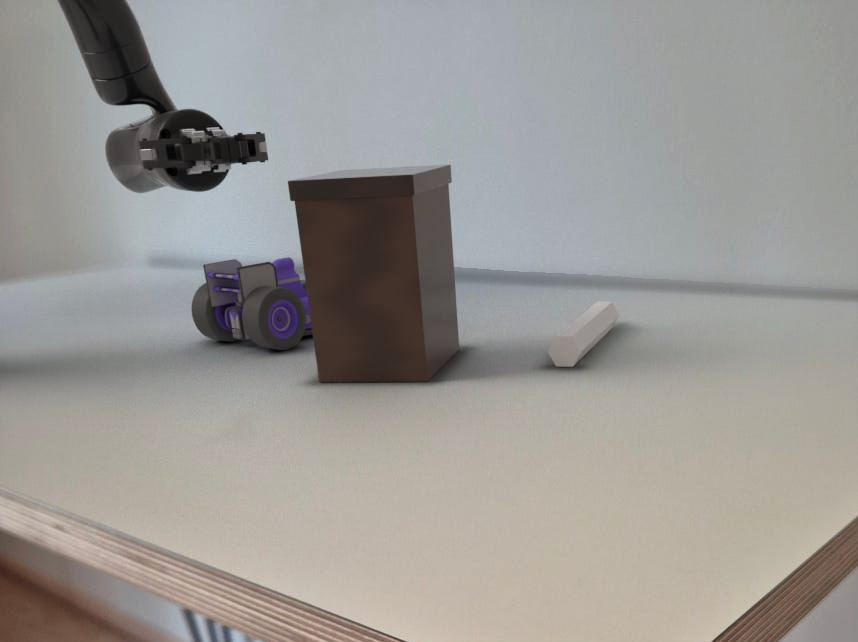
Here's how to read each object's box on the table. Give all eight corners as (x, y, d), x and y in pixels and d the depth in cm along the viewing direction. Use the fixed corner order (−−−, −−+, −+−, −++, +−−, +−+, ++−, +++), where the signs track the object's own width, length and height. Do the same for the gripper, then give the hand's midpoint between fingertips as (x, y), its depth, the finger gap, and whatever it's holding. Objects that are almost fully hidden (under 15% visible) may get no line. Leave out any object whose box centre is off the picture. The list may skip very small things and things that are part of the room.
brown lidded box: (311, 383, 68) (282, 181, 62) (357, 350, 77) (336, 170, 71) (429, 382, 67) (412, 174, 60) (462, 348, 75) (450, 164, 69)
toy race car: (398, 321, 87) (390, 244, 84) (264, 356, 77) (250, 270, 74) (328, 313, 93) (319, 240, 89) (196, 344, 83) (181, 264, 80)
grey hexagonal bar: (613, 330, 82) (568, 374, 69) (592, 317, 82) (543, 358, 69) (629, 302, 80) (586, 341, 67) (608, 289, 80) (560, 325, 67)
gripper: (111, 113, 96) (145, 106, 83) (240, 107, 102) (293, 99, 88) (128, 195, 100) (163, 201, 86) (252, 185, 105) (304, 190, 91)
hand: (229, 150), depth 87 cm, fingers closed
